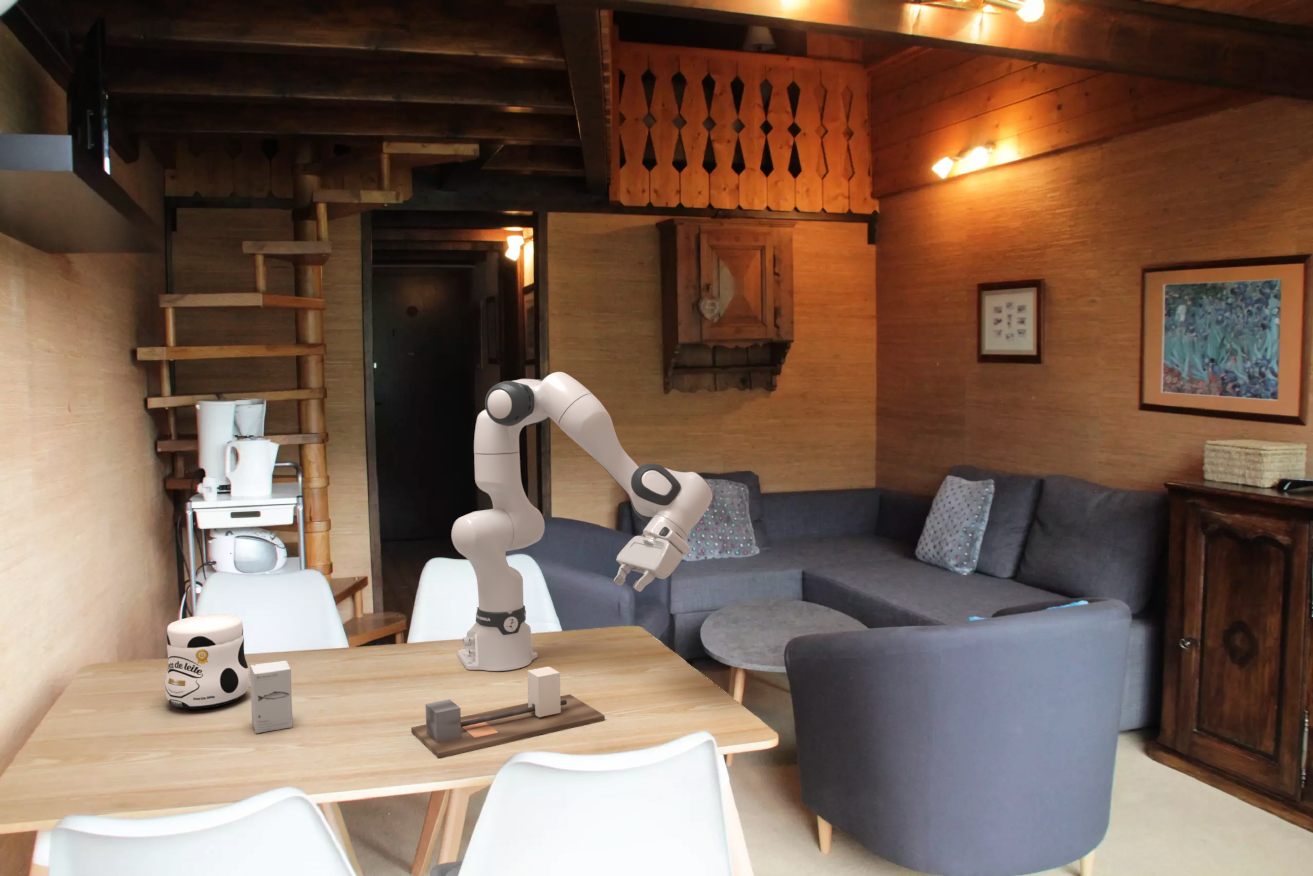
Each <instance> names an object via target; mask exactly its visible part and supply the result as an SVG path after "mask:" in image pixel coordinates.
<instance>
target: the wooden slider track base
mask: <svg viewBox="0 0 1313 876" xmlns="http://www.w3.org/2000/svg"><path fill="white" fill-rule="evenodd" d="M560 703H561V713H556V714H552V715H547V716H543V717H538V716H536V715H535V712H533V711H535V706H533V707H529V708H528V702H524V703H522V704H516V705H512V706H511V705H510V706H508V707H507V706H506V707H502V708H497V709H493V710H488V711H483V712H479V713H474V714H469V715H464V716H461V714H462V713H461V707H460V706H459V705H457V703H455V702H453V701H452V700H451V699H446V700H445V699H444V700H441V701H439V700H438V701H434V702H429V703H426V704H425V724H420V725H417V726H411V727H410V731H411V733H412V734H413V736H415V737H416V739H418V740H419V741H420V742H421V743H422V745H424V746H425V747H426V748H427V749H428V750H429V751H430V752H431V753H432V754H433V755H434V754H435V755H436V756H435V755H434V756H435V757H436V758H437V759H441V758H445V757H449V756H454V755H458V754H462V753H467V752H472V751H476V750H480V749H485V748H489V747H492V746H493V747H494V746H498V745H502V744H506V743H510V742H515V741H519V740H524V739H528V738H532V737H537V736H541V735H546V734H549V733H553V732H559V731H563V730H567V729H571V728H575V727H580V726H584V725H589V724H593V723H597V722H598V723H599V722H601V721H605V718H606V717H605V716H606V715H605V714H603V713H601V712H600V711H599V710H596V708H593V707H591V706H590V705H588V704H587V703H585V702H583V701H582V700H581V699H579V698H577V697H575V696H573V694H570V693H569V694H564V695H560Z"/></svg>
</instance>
